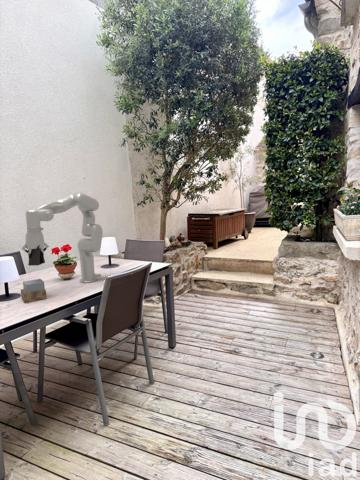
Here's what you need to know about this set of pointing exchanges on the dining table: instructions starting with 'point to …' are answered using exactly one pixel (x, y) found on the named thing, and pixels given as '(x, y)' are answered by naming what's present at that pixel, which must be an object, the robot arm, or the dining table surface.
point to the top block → (33, 285)
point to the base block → (33, 296)
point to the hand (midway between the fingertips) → (36, 259)
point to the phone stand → (36, 257)
